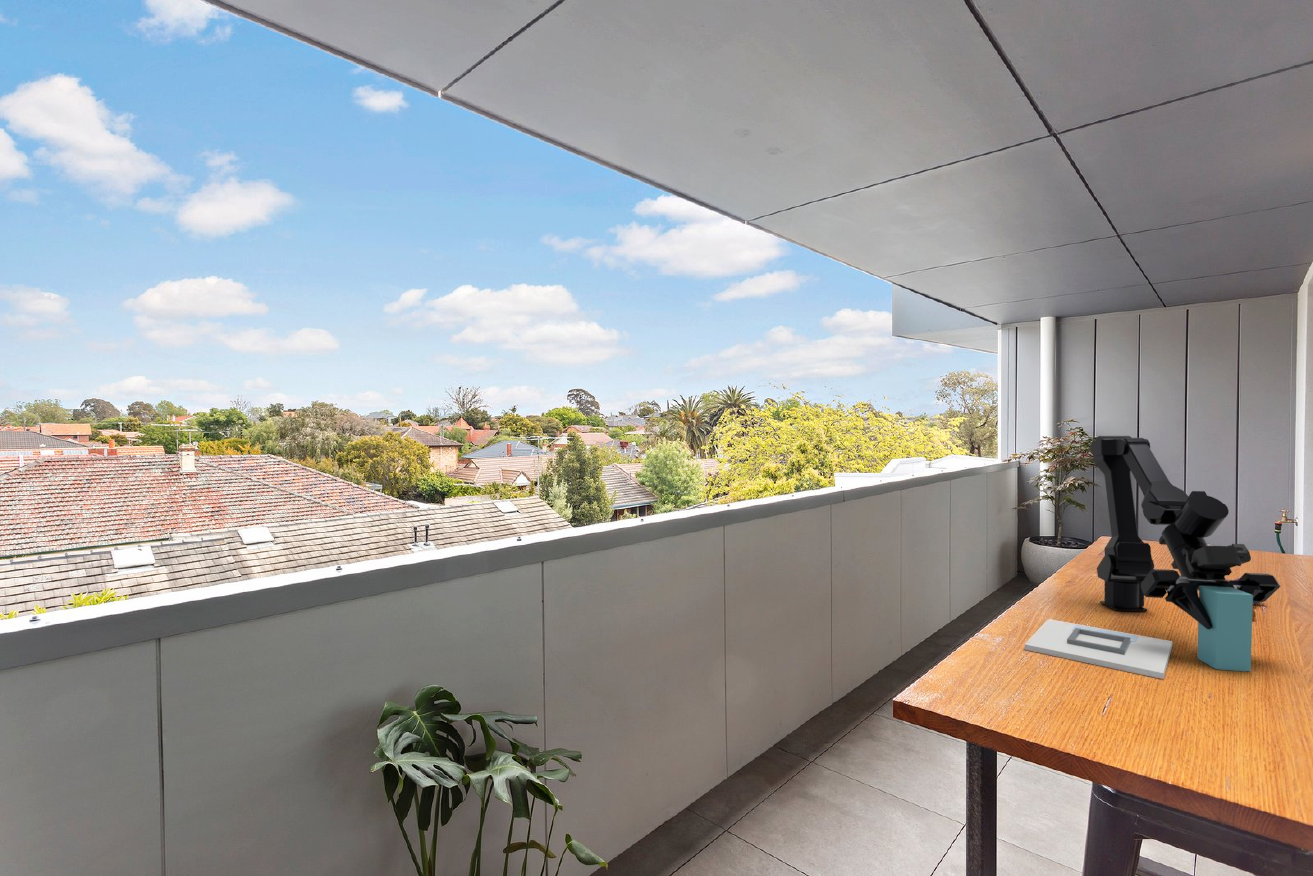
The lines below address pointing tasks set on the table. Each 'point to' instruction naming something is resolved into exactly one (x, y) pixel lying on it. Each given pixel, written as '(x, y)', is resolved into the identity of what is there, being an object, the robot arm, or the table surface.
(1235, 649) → the column
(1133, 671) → the board
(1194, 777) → the table surface
